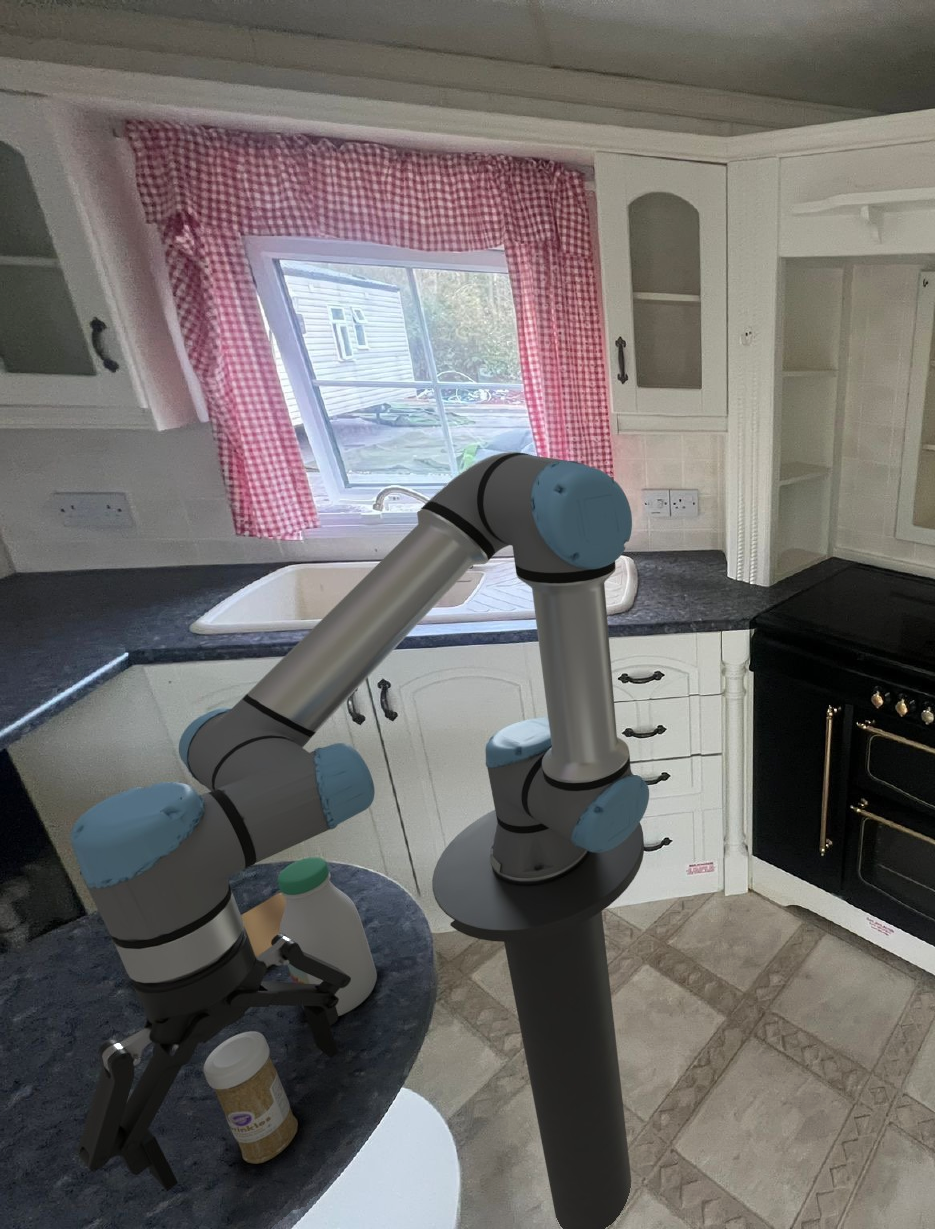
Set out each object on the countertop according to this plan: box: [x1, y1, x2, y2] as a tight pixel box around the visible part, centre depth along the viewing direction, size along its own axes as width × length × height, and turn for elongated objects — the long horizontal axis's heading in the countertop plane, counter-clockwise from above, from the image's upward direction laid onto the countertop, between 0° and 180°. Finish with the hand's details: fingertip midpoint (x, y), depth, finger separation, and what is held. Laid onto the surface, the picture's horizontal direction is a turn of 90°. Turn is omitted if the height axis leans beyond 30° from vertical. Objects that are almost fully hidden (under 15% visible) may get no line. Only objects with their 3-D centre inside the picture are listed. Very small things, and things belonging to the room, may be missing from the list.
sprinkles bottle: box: [203, 1030, 299, 1165], centre depth 65 cm, size 5×5×14 cm
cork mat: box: [241, 892, 286, 969], centre depth 87 cm, size 16×12×1 cm
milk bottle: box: [277, 856, 378, 1017], centre depth 79 cm, size 8×8×20 cm
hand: (253, 1108), depth 65 cm, fingers open, 13 cm apart
